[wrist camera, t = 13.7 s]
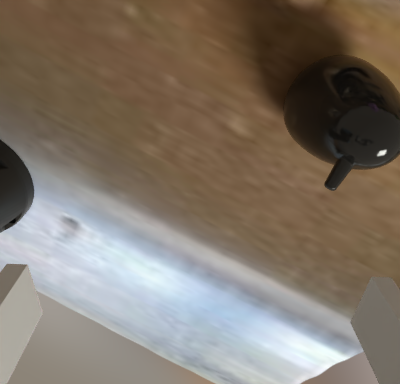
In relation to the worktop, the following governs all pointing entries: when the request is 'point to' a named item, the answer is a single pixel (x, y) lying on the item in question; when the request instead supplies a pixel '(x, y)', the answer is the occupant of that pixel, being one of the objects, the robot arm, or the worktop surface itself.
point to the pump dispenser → (344, 115)
